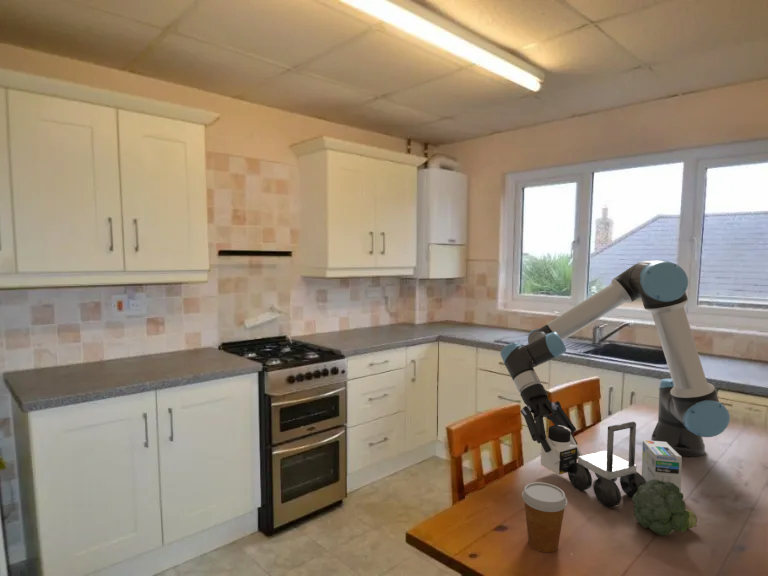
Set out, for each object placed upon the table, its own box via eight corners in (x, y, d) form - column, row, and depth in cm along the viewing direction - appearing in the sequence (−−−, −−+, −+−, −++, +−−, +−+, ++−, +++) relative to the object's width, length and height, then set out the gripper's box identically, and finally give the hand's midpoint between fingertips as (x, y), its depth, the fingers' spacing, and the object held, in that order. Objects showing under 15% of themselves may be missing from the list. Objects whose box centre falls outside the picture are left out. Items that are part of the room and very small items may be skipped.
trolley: (596, 476, 134) (599, 406, 132) (647, 503, 119) (650, 425, 118) (567, 483, 129) (569, 412, 128) (615, 512, 115) (618, 432, 113)
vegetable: (723, 539, 100) (670, 516, 98) (674, 555, 108) (624, 534, 106) (703, 486, 110) (654, 463, 107) (659, 504, 118) (613, 484, 115)
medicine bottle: (559, 475, 128) (560, 433, 128) (540, 465, 135) (541, 425, 134) (577, 470, 132) (578, 429, 131) (557, 460, 138) (558, 421, 137)
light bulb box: (681, 495, 123) (683, 456, 122) (653, 493, 124) (655, 454, 124) (665, 476, 133) (667, 440, 133) (640, 474, 135) (641, 439, 134)
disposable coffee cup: (514, 531, 107) (515, 482, 106) (554, 529, 108) (555, 480, 107) (531, 558, 97) (532, 504, 97) (574, 556, 98) (575, 502, 97)
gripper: (549, 391, 150) (587, 459, 136) (498, 398, 142) (532, 471, 128) (562, 379, 145) (602, 448, 131) (509, 386, 137) (546, 461, 123)
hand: (568, 459), depth 130 cm, fingers closed on medicine bottle, 7 cm apart
